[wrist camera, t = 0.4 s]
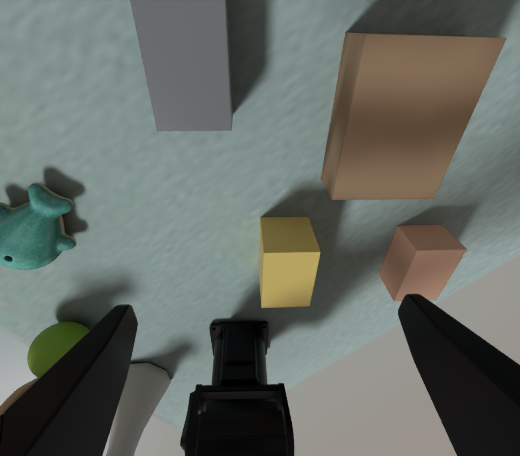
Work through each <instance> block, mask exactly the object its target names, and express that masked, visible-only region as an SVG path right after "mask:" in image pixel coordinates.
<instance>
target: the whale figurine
mask: <svg viewBox="0 0 520 456" xmlns="http://www.w3.org/2000/svg"><path fill="white" fill-rule="evenodd" d="M28 193H29V199H30V202H28V203H25V204H23V205H21V206H19V207H16V208H12V207H9V206H8V205H6V204H5V203H2V202H0V264H1V265H3V266H6V267H8V268H12V269H17V270H31V269H37V268H40V267H43V266H45V265H47V264H49V263H51V262H52V261H54V260H55V259H56V258H57V257H58V256H59V255H60V254H61V253H62V251H64V250H69V249H72V248H74V247H75V246H76V239H75V238H74V237H73V236H70V235H67V234H66V233H65V229H64V222H63V217H62V214H65V213H67V212H69V211H70V210H71V209H72V208H73V206H74V204H73V202H72V201H71V200H70V199H68V198H65V197H62V196H60V195H57V194H55V193H54V192H52V191H51V190H49V189H48V188H46V187H45V186H44V185H42V184H40V183H33V184H32V185H30V187H29V189H28Z"/></svg>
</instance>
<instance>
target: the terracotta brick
mask: <svg viewBox="0 0 520 456" xmlns="http://www.w3.org/2000/svg"><path fill="white" fill-rule="evenodd" d="M466 250H467V249H466V248H465V247H464V246H463V245H462V244H461V243H460V242H459V241H458V240H457V239H456V238H455V237H454V236H453V235H452V234H451V233H450V232H449V231H448V230H447V229H446V228H445V227H444V226H443V225H400V226H397V228H396V231H395V234H394V236H393V239H392V242H391V244H390V247H389V249H388V252H387V255H386V257H385V260H384V262H383V265H382V268H381V270H380V273H379V275H380V277H381V279H382V281H383V283H384V284H385V286H386V288H387V290H388V292H389V293H390V295H391V297H392V299H393V301H402V300H403V298H404V296H405V295H406V294H420V295H422V296H423V297H425V298H426V299H427V300H437V298H438V297H439V295H440V293H441V292H442V290H443V288H444V287H445V285H446V283H447V282H448V280H449V278H450V277H451V275H452V273H453V272H454V270H455V268H456V267H457V265H458V263H459V262H460V260H461V258H462V257H463V255H464V253H465V252H466Z"/></svg>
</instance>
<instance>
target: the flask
mask: <svg viewBox="0 0 520 456" xmlns="http://www.w3.org/2000/svg"><path fill="white" fill-rule="evenodd" d="M170 382H171V380H170V378H169V376H168V373H167V371H165V370H163V369H161V368H159V367H157V366H154V365H152V364H150V363H138V364H130V366H129V371H128V375H127V379H126V382H125V386H124V389H123V392H122V395H121V398H120V401H119V404H118V408H117V411H116V414H115V417H114V420H113V423H112V427H111V434H110V441H109V447H108V451H107V454H106V456H134V453H135V449H136V447H137V444H138V442H139V439H140V437H141V434H142V432H143V430H144V428H145V426H146V424H147V422H148V421H149V419H150V417H151V415H152V414H153V412H154V410H155V408H156V406H157V405H158V403H159V401H160V400H161V398H162V396H163V395H164V393H165V391H166V390H167V388H168V386H169V384H170Z"/></svg>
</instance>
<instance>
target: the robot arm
mask: <svg viewBox="0 0 520 456" xmlns="http://www.w3.org/2000/svg"><path fill="white" fill-rule="evenodd" d="M398 316H399V319H400V322H401V325H402V328H403V331H404V334H405V337H406V340H407V342H408V346H409V348H410V351H411V354H412V357H413V360H414V362H415V364H416V367H417V369H418V371H419V373H420V375H421V378H422V380H423V382H424V384H425V386H426V389H427V391H428V393H429V395H430V397H431V400H432V401H433V404H434V406H435V408H436V410H437V413H438V415H439V417H440V419H441V421H442V424H443V426H444V428H445V430H446V432H447V434H448V437H449V439H450V441H451V443H452V445H453V447H454V450H455V452H456V454H457V456H520V365H519V364H518V363H516V362H515V361H513V360H512V359H511V358H509V357H508V356H506V355H505V354H504V353H502V352H501V351H499V350H498V349H496V348H495V347H494V346H492V345H491V344H489V343H488V342H487V341H485V340H484V339H482V338H481V337H480V336H478V335H477V334H475V333H474V332H472V331H471V330H470V329H468V328H467V327H465V326H464V325H463V324H461V323H460V322H458V321H457V320H456V319H454V318H453V317H451V316H450V315H448V314H447V313H446V312H444V311H443V310H442V309H440V308H439V307H437V306H436V305H434V304H433V303H432V302H430V301H429V300H427V299H426V298H425V297H423V296H422V295H420V294H406V295H405V296H404V298H403V300H402V303H401V305H400V307H399V309H398ZM137 326H138V322H137V318H136V316H135V313H134V310H133V308H132V306H131V305H129V304H124V305H117V306H115V307H114V308H113V309H112V310H111V311H110V312H109V313H108V314H107V315H106V316H104V317H103V318H102V319H101V320H100V321H99V322H98V323H97V324H96V325H95V326H94V327H93V328H92V329H91V330H90V331H89V332H88V333H86V334H85V335H84V336H83V337H82V338H81V339H80V340H79V341H78V342H77V343H76V344H75V345H74V346H73V347H72V348H71V349H70V350H69V351H67V352H66V353H65V354H64V355H63V356H62V357H61V358H60V359H59V360H58V361H57V362H56V363H55V364H54V365H53V366H52V367H51V368H49V369H48V370H47V371H46V372H45V373H44V374H43V375H42V376H41V377H40V378H39V379H38V380H37V381H36V382H35V383H34V384H33V385H32V386H30V387H29V388H28V389H27V390H26V391H25V392H24V393H23V394H22V395H21V396H20V397H19V398H18V399H17V400H16V401H15V402H14V403H12V404H11V405H10V406H9V407H8V408H7V409H6V410H5V411H4V414H1V415H0V456H102V455H103V451H104V449H105V445H106V442H107V439H108V436H109V433H110V430H111V427H112V423H113V420H114V417H115V414H116V411H117V408H118V404H119V401H120V398H121V395H122V392H123V389H124V386H125V382H126V379H127V375H128V371H129V366H130V362H131V357H132V352H133V347H134V342H135V337H136V332H137ZM268 329H269V325H268V322H266V321H256V322H226V323H212V324H210V335H211V342H212V349H213V356H214V361H213V373H212V385H202V384H197V385H196V390H195V391H194V392H192V393H190V398H189V405H188V411H187V416H186V420H185V424H184V428H183V432H182V436H181V443H180V446H181V447H182V449H183V450H184V451H185V456H294V435H293V427H292V421H291V416H290V411H289V406H288V402H287V397H286V392H285V387H284V383H278V384H267V371H266V358H265V355H266V354H267V343H268Z"/></svg>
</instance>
